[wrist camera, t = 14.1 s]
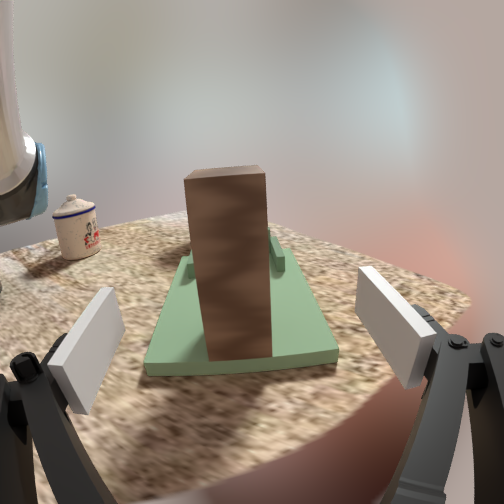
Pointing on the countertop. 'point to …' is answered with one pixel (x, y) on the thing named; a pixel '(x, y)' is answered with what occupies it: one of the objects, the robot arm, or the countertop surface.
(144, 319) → the countertop surface
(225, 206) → the walnut block
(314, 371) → the countertop surface
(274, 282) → the pad
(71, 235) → the teacup with lid
